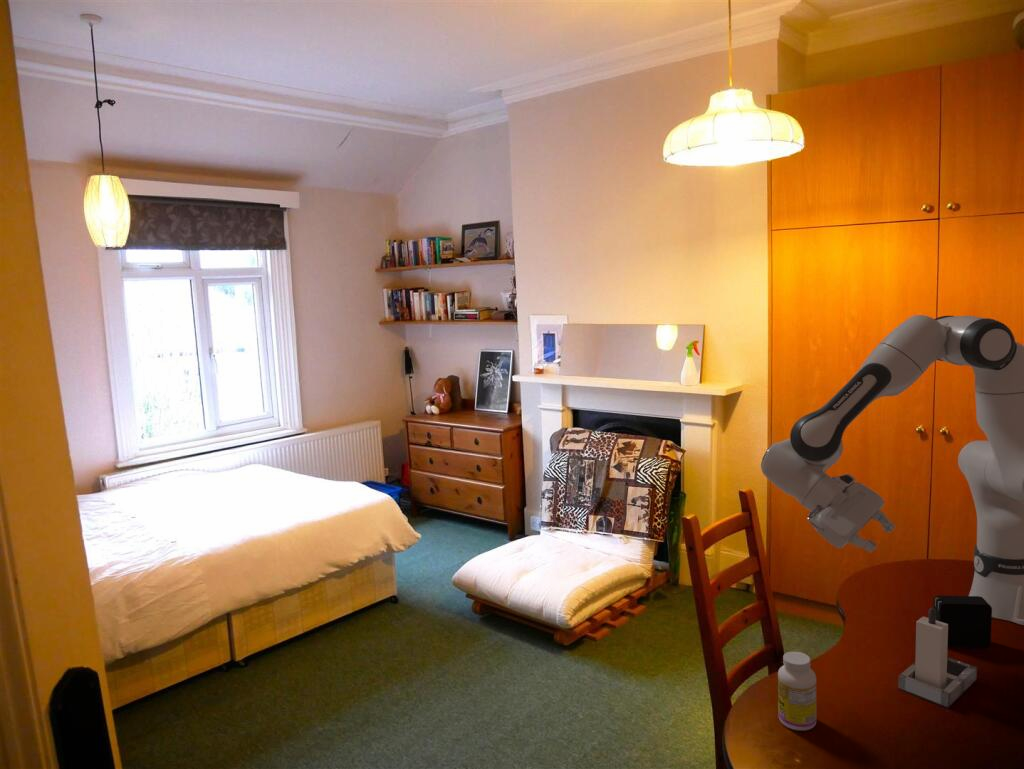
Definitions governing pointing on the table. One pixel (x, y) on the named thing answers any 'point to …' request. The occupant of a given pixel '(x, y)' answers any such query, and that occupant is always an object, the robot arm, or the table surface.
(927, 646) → the plug
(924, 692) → the socket box
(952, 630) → the electronic device
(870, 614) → the table surface
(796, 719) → the supplement bottle
